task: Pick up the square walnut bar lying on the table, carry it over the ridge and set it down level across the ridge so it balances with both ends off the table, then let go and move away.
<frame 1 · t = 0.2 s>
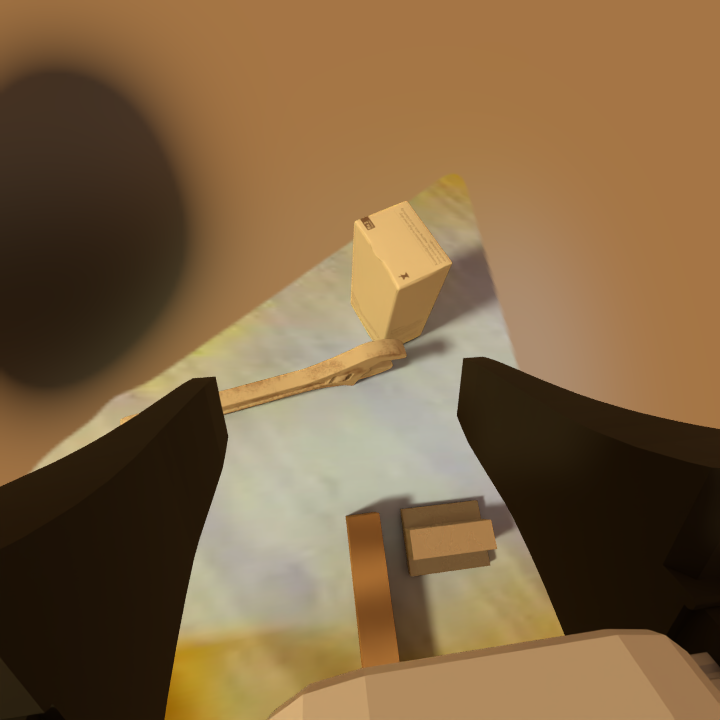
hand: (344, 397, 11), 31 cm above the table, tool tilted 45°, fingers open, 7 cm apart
skincare box: (382, 319, 47), on the table
ridge: (442, 536, 38), on the table
walnut bar: (370, 603, 36), on the table
wrench: (269, 399, 42), on the table
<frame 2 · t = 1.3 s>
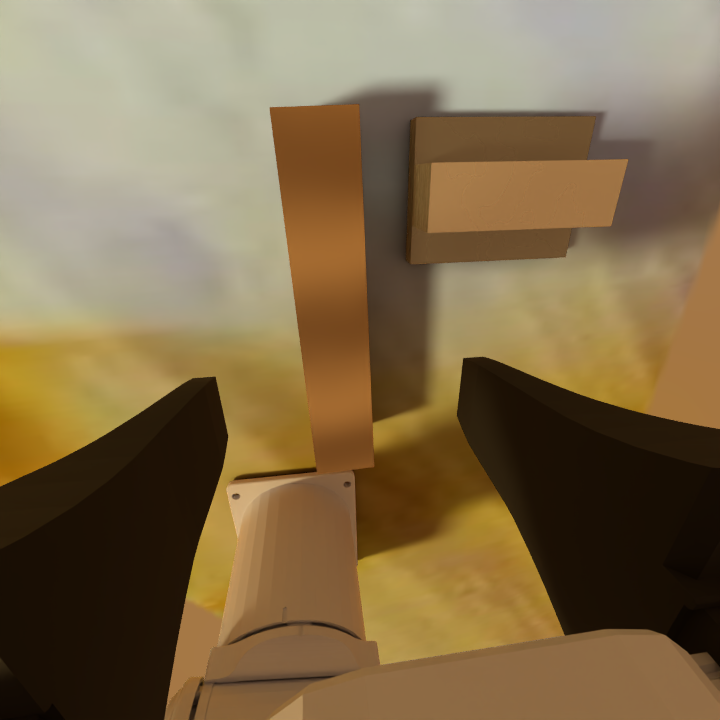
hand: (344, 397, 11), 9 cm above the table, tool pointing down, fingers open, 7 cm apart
ridge: (489, 193, 18), on the table
walnut bar: (328, 301, 20), on the table
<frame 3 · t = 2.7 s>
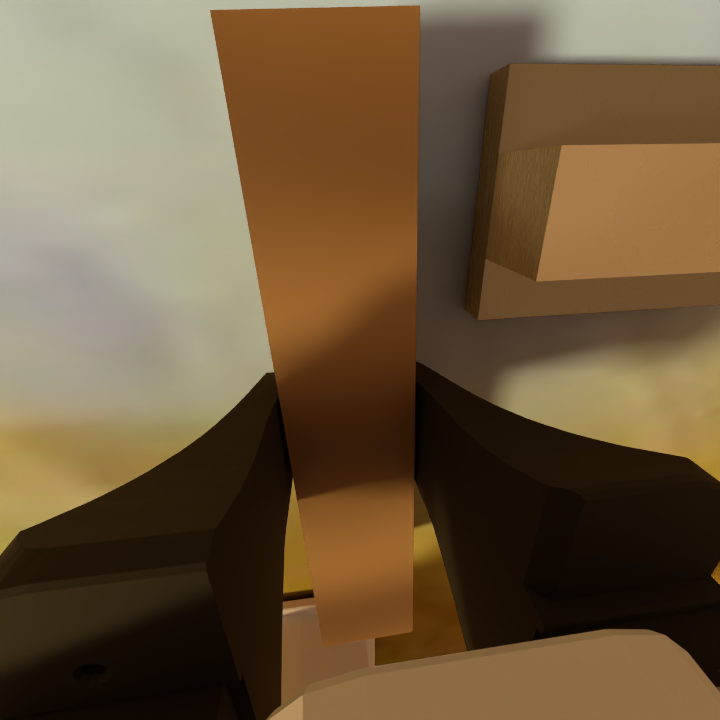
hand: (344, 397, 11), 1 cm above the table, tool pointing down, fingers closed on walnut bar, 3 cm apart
ridge: (607, 202, 11), on the table
walnut bar: (340, 371, 12), on the table, touching gripper
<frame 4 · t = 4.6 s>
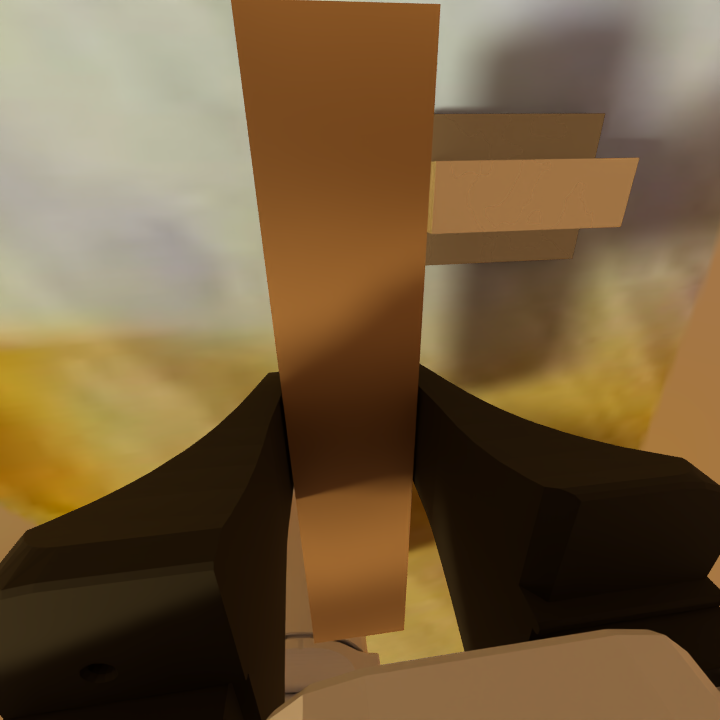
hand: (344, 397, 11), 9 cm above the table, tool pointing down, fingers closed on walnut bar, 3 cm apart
ridge: (494, 193, 18), on the table
walnut bar: (340, 368, 12), point 7 cm above the table, touching gripper
when the fingers open (6 cm above the table, at t = 6.4 s): walnut bar stays where it is, resting on ridge.
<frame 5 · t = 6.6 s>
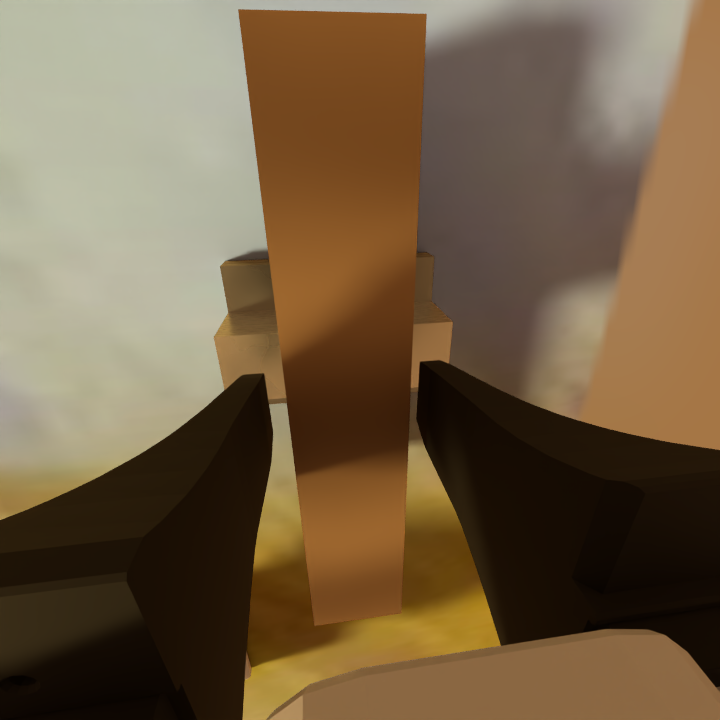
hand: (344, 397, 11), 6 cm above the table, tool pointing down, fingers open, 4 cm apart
ridge: (332, 327, 16), on the table
walnut bar: (339, 359, 13), point 4 cm above the table, touching ridge
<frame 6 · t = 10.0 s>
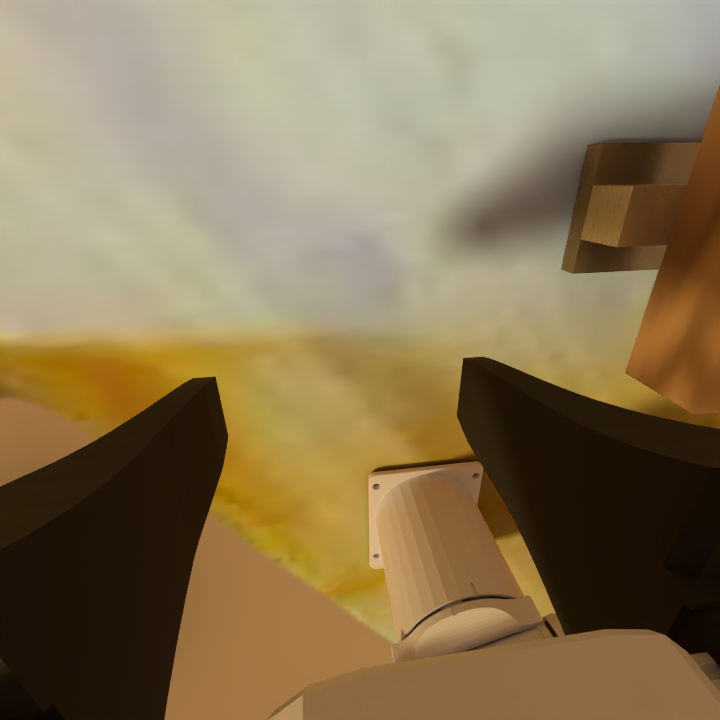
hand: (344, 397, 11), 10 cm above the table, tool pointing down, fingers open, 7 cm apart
ridge: (644, 209, 20), on the table
walnut bar: (708, 211, 17), point 3 cm above the table, touching ridge
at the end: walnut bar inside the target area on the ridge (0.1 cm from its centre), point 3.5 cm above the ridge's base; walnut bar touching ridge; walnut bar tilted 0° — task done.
